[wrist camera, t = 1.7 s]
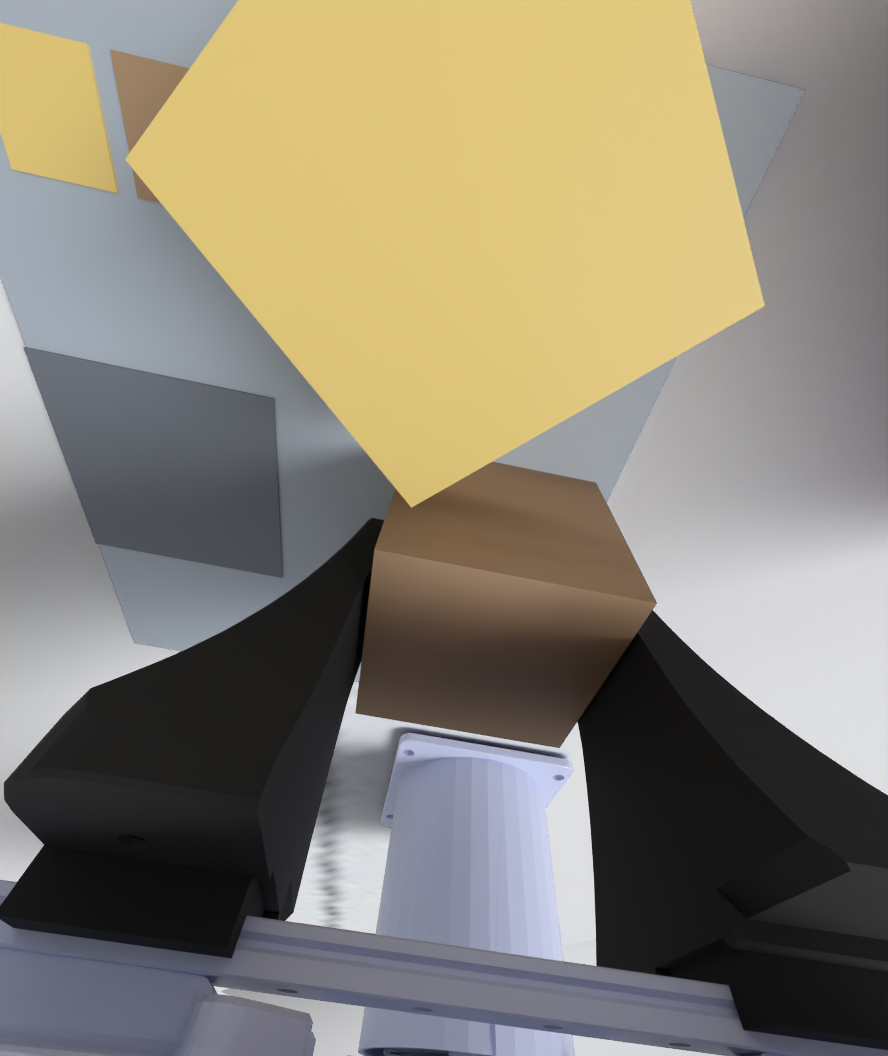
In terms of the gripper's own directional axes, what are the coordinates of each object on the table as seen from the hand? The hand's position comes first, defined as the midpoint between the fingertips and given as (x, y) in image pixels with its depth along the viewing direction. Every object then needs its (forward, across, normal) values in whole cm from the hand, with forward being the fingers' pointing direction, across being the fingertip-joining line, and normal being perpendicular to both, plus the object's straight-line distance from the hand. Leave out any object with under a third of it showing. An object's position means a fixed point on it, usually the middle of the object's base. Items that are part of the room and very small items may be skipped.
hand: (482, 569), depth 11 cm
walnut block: (+1, 0, 0) cm, 1 cm away
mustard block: (+1, +2, -7) cm, 7 cm away
